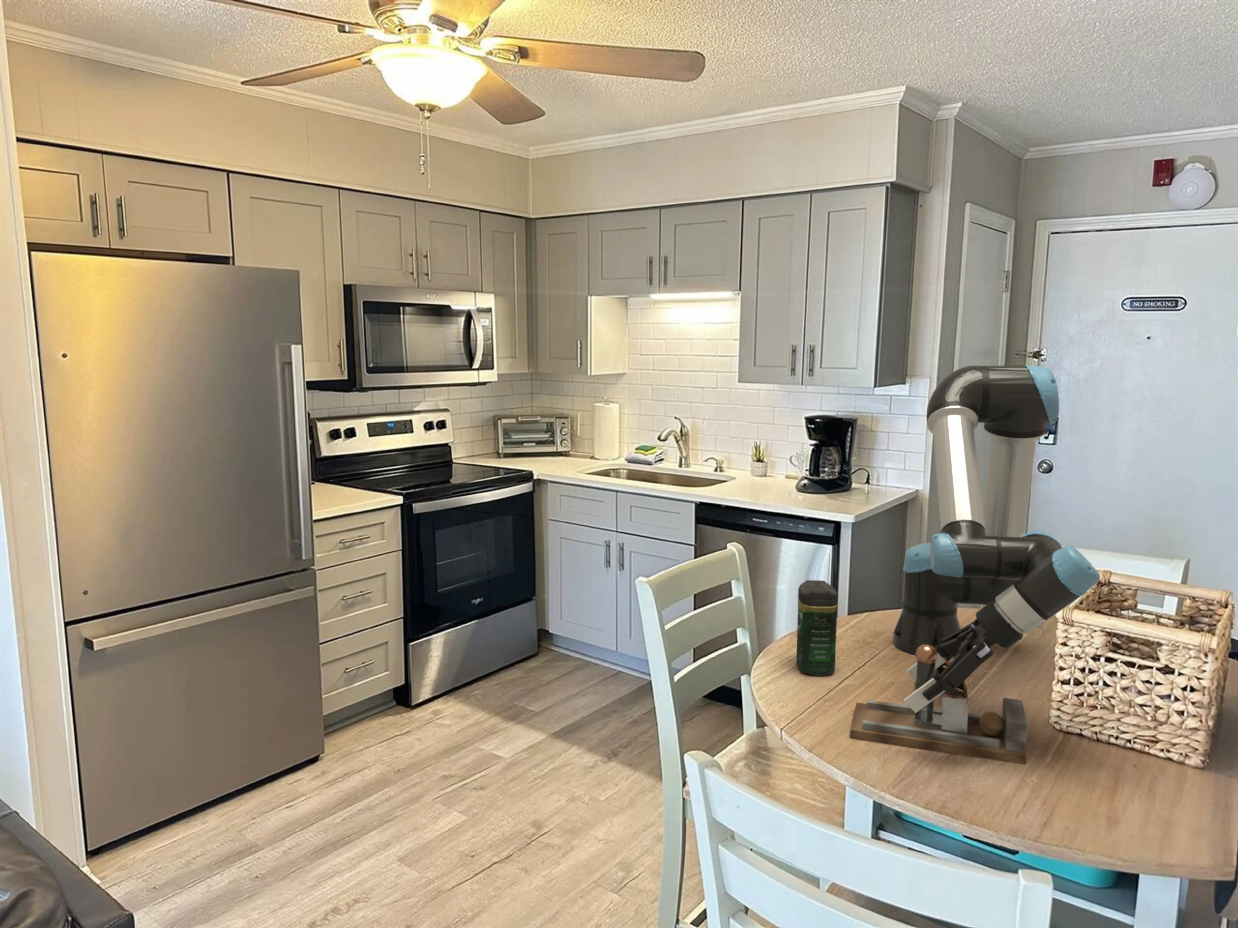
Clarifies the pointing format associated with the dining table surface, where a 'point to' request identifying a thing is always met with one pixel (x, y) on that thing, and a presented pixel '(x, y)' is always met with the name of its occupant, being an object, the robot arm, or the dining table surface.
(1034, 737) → the dining table surface
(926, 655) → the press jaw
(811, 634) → the coffee jar
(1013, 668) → the dining table surface
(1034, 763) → the dining table surface
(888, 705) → the press base
